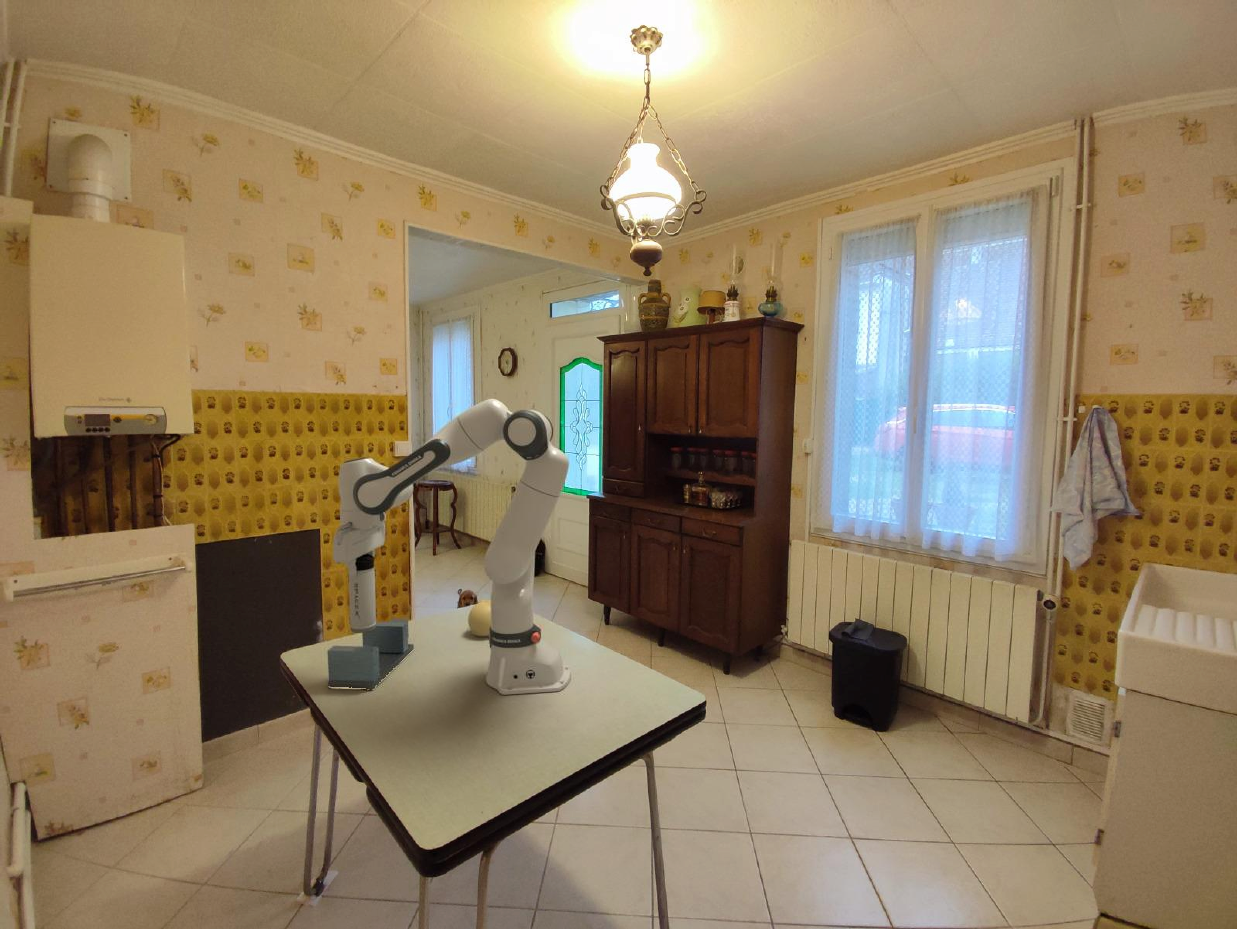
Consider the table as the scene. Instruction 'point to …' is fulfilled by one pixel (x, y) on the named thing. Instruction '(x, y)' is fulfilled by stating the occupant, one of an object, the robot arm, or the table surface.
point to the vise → (361, 665)
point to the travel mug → (363, 596)
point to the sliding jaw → (388, 636)
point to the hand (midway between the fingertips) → (361, 570)
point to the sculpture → (480, 618)
